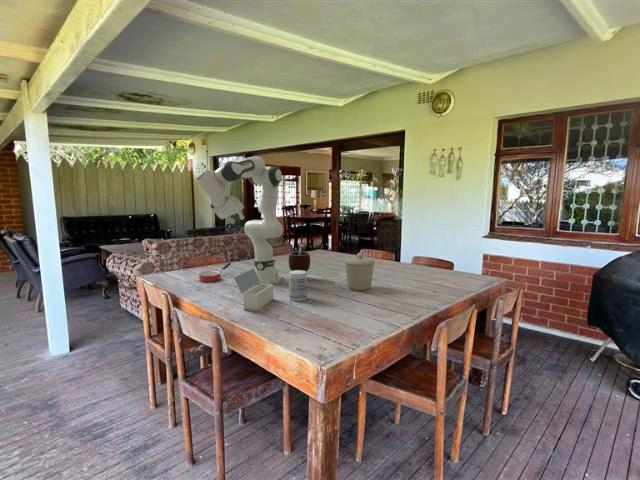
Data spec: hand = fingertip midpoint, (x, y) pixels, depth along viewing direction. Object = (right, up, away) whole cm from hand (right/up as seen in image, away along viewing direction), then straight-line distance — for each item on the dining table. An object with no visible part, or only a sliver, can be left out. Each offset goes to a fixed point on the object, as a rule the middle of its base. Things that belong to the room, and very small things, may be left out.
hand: (238, 221), depth 187 cm
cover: (+6, -30, -4) cm, 31 cm away
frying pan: (-27, -35, +55) cm, 70 cm away
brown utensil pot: (+29, -36, +48) cm, 66 cm away
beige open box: (+12, -43, -4) cm, 44 cm away
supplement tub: (+31, -41, +5) cm, 52 cm away
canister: (+65, -39, +25) cm, 80 cm away
